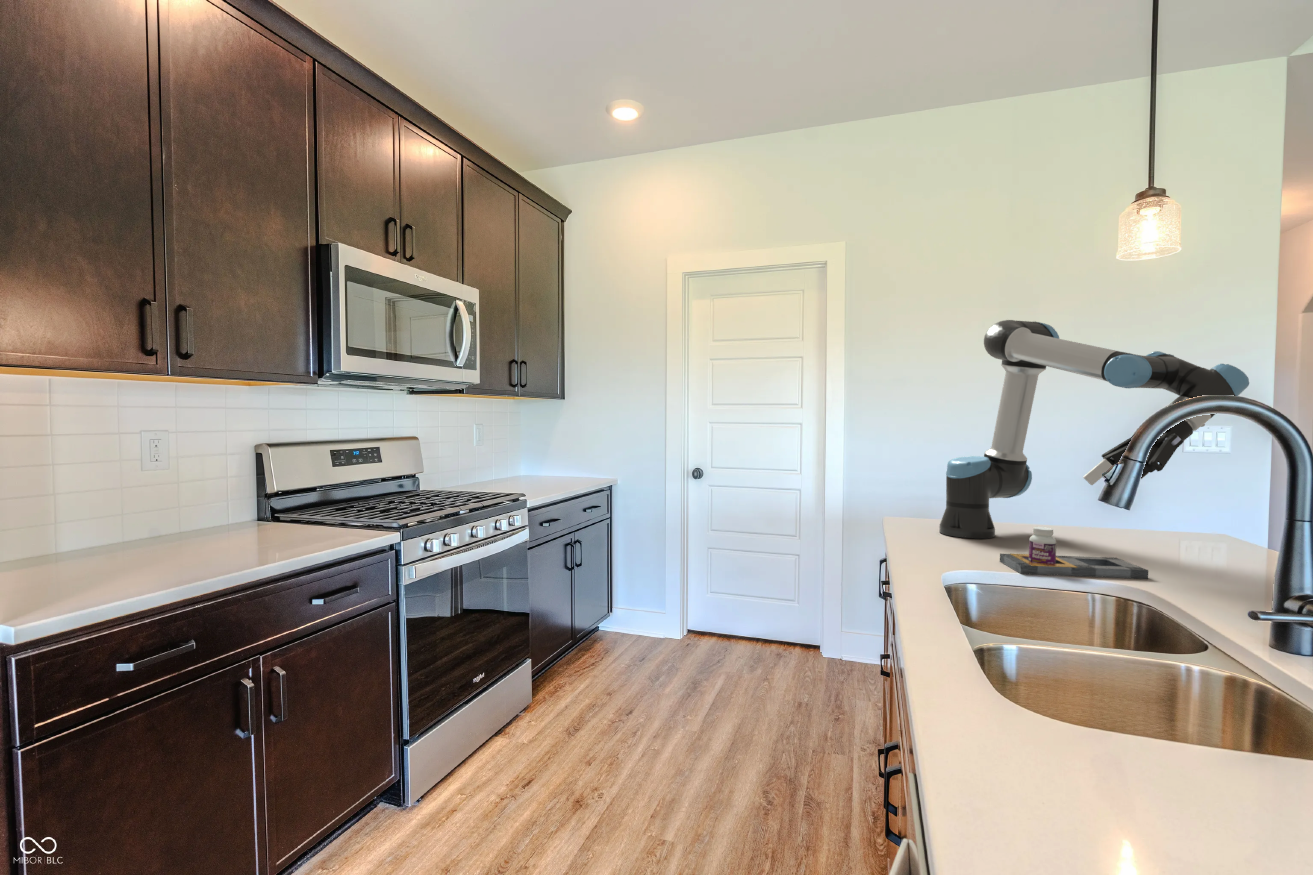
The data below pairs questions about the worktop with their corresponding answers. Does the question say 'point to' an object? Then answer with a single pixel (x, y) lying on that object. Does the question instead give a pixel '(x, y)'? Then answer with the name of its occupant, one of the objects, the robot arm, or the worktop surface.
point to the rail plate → (1076, 566)
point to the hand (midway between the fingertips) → (1102, 484)
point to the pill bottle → (1042, 546)
